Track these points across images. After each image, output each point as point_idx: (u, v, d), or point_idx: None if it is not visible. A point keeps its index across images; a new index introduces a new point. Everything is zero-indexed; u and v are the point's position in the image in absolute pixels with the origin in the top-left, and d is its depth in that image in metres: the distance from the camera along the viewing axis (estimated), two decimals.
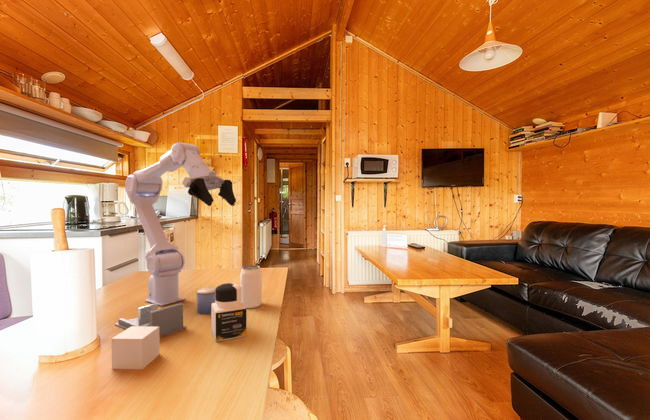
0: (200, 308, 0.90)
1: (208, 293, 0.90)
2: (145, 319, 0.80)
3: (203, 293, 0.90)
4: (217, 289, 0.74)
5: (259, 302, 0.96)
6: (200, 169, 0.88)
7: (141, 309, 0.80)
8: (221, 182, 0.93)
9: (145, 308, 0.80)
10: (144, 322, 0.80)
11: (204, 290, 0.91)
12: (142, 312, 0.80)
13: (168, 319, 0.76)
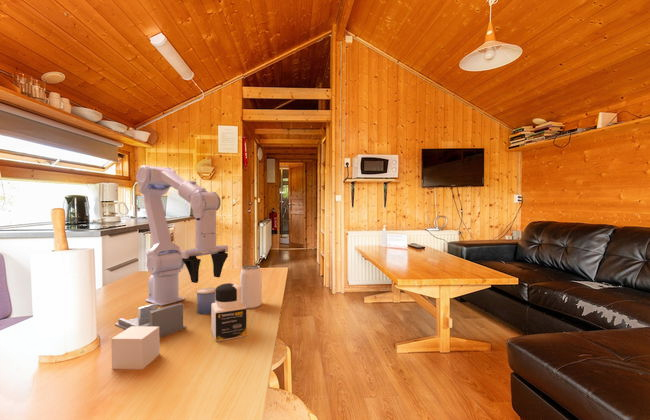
0: (200, 308, 0.90)
1: (208, 293, 0.90)
2: (145, 319, 0.80)
3: (203, 293, 0.90)
4: (217, 289, 0.74)
5: (259, 302, 0.96)
6: (205, 241, 0.89)
7: (141, 309, 0.80)
8: None
9: (145, 308, 0.80)
10: (144, 322, 0.80)
11: (204, 290, 0.91)
12: (142, 312, 0.80)
13: (168, 319, 0.76)
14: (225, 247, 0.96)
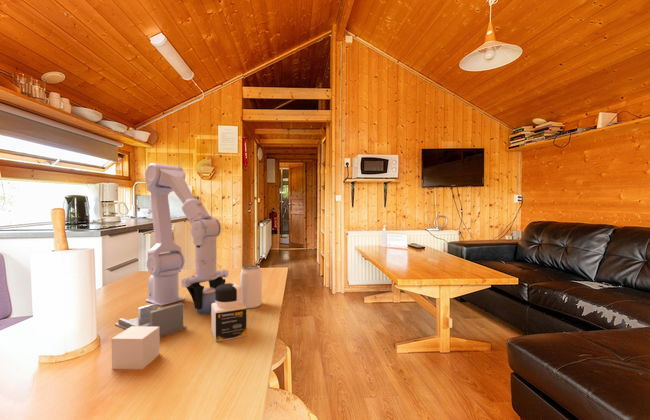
0: None
1: (208, 293, 0.90)
2: (145, 319, 0.80)
3: (203, 293, 0.90)
4: (217, 289, 0.74)
5: (259, 302, 0.96)
6: (206, 268, 0.89)
7: (141, 309, 0.80)
8: None
9: (145, 308, 0.80)
10: (144, 322, 0.80)
11: (204, 290, 0.91)
12: (142, 312, 0.80)
13: (168, 319, 0.76)
14: (225, 272, 0.97)
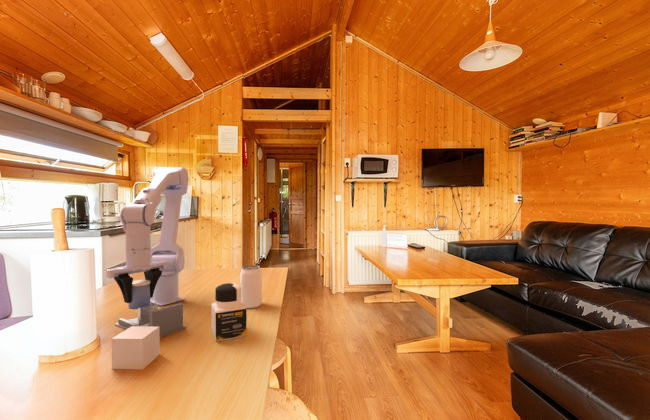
0: (131, 302, 0.81)
1: (140, 285, 0.82)
2: (145, 319, 0.80)
3: (134, 285, 0.81)
4: (217, 289, 0.74)
5: (259, 302, 0.96)
6: (136, 258, 0.81)
7: (141, 309, 0.80)
8: None
9: (145, 308, 0.80)
10: (144, 322, 0.80)
11: (136, 282, 0.83)
12: (142, 312, 0.80)
13: (168, 319, 0.76)
14: (163, 263, 0.88)
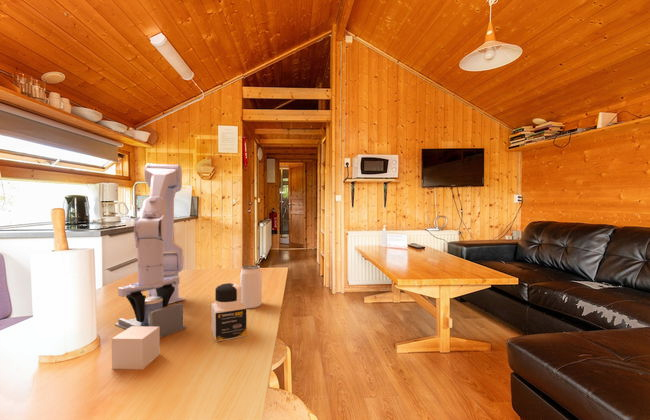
0: (143, 321, 0.78)
1: (153, 303, 0.78)
2: None
3: (147, 304, 0.78)
4: (217, 289, 0.74)
5: (259, 302, 0.96)
6: (148, 275, 0.78)
7: None
8: None
9: None
10: None
11: (149, 300, 0.80)
12: None
13: (168, 319, 0.76)
14: (175, 279, 0.85)
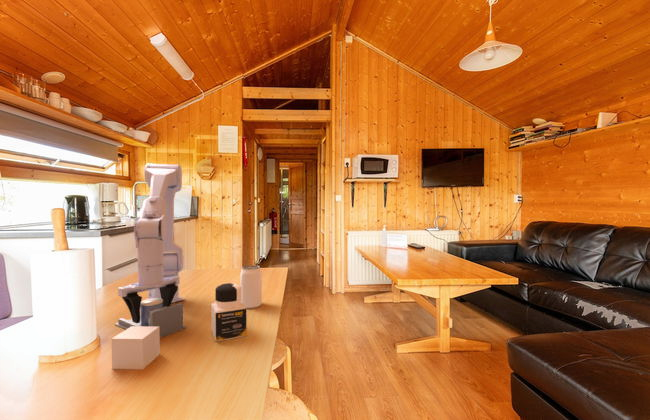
0: (143, 322, 0.78)
1: (153, 305, 0.78)
2: None
3: (147, 305, 0.78)
4: (217, 289, 0.74)
5: (259, 302, 0.96)
6: (148, 275, 0.78)
7: None
8: None
9: None
10: None
11: (149, 301, 0.80)
12: None
13: (168, 319, 0.76)
14: (175, 279, 0.85)
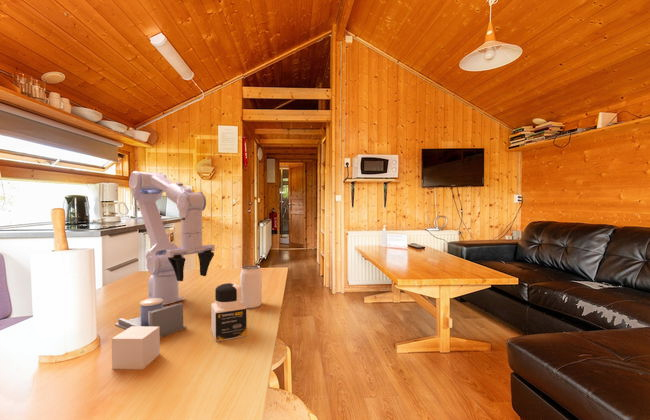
0: (143, 322, 0.78)
1: (153, 305, 0.78)
2: None
3: (147, 305, 0.78)
4: (217, 289, 0.74)
5: (259, 302, 0.96)
6: (191, 240, 0.91)
7: None
8: (205, 248, 0.97)
9: None
10: None
11: (149, 301, 0.80)
12: None
13: (168, 319, 0.76)
14: (211, 246, 0.98)
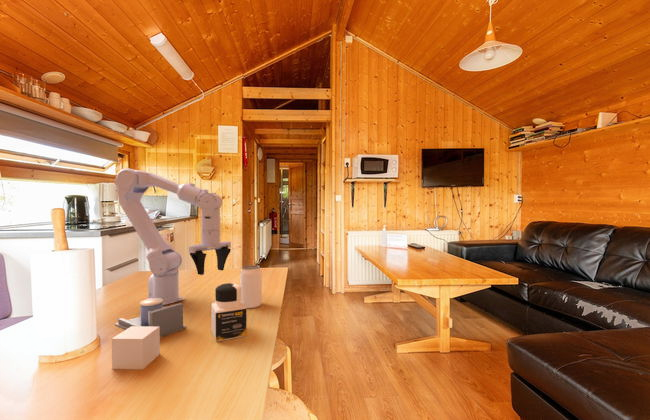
0: (143, 322, 0.78)
1: (153, 305, 0.78)
2: None
3: (147, 305, 0.78)
4: (217, 289, 0.74)
5: (259, 302, 0.96)
6: (210, 237, 0.99)
7: None
8: None
9: None
10: None
11: (149, 301, 0.80)
12: None
13: (168, 319, 0.76)
14: (228, 243, 1.06)
